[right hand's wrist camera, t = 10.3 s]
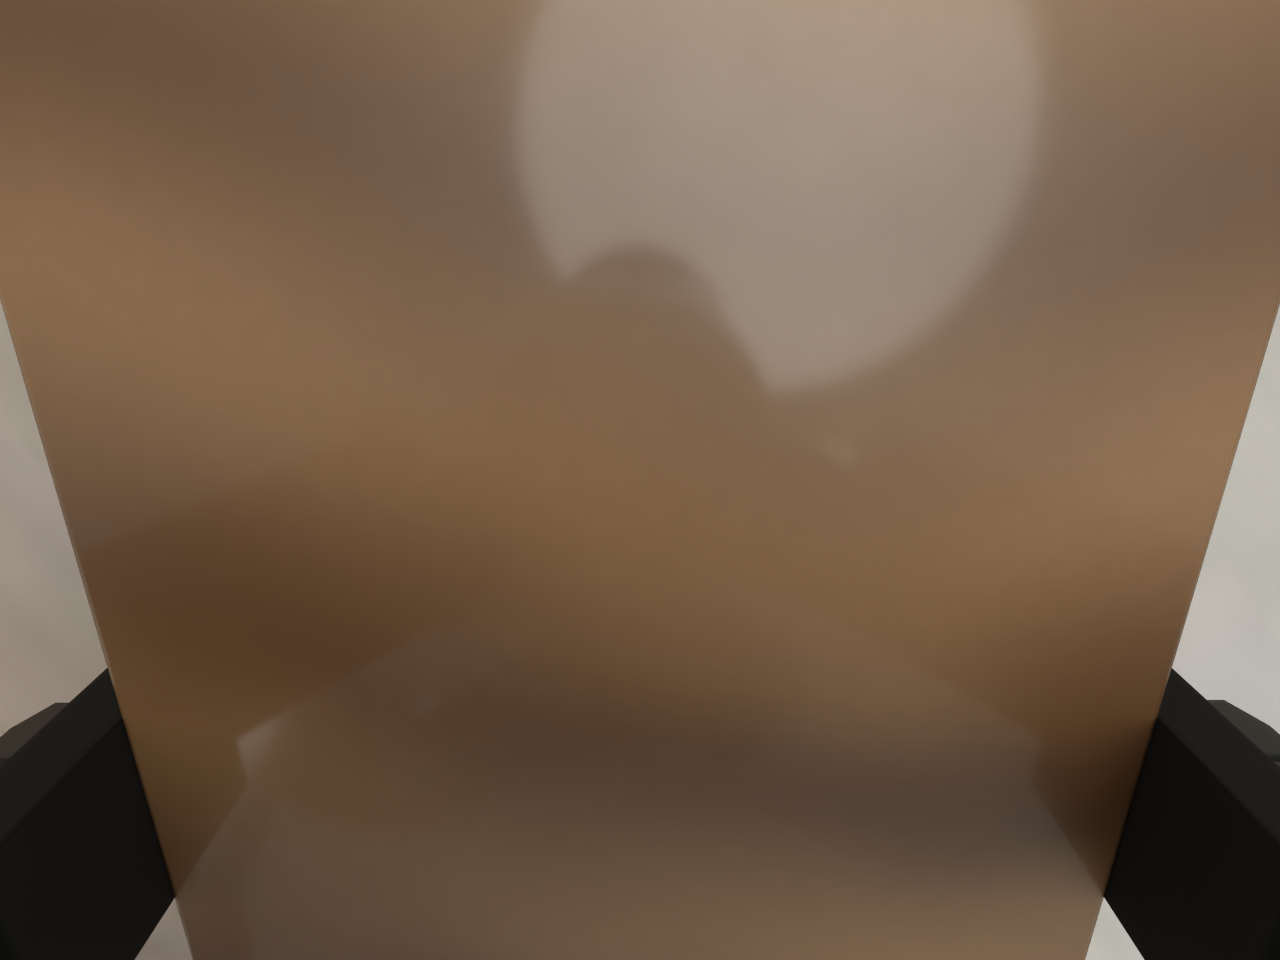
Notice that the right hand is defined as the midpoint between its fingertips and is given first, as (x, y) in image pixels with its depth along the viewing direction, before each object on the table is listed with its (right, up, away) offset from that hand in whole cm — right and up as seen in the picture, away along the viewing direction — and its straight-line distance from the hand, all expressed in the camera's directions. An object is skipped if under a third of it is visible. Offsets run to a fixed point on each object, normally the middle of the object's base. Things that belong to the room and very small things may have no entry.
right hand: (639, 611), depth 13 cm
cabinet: (0, +9, +2) cm, 9 cm away
